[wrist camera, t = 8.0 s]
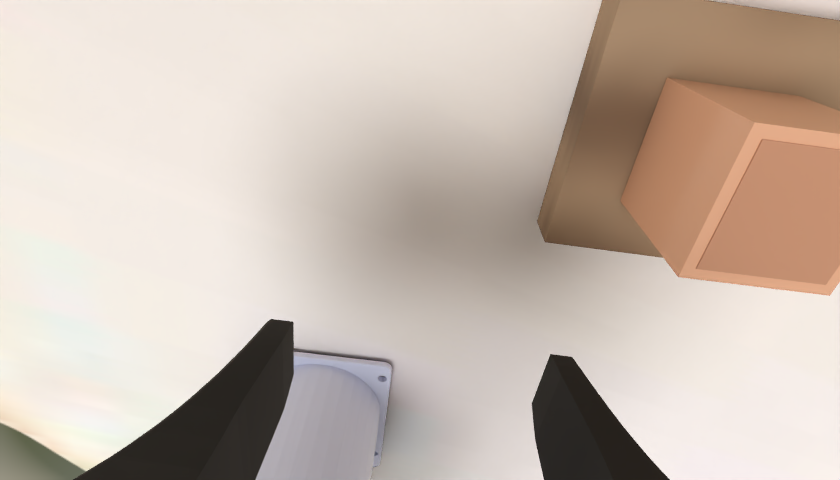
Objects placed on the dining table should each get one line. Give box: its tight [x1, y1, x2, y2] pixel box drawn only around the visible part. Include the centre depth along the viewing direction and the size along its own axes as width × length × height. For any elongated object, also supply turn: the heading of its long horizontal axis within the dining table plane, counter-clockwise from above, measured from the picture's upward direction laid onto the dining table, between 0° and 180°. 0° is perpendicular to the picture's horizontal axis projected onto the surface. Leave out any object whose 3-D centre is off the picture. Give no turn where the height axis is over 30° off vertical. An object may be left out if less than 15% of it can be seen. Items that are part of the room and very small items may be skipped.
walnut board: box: [537, 0, 840, 257], centre depth 20 cm, size 10×10×2 cm
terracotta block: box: [620, 78, 840, 296], centre depth 16 cm, size 5×5×6 cm
